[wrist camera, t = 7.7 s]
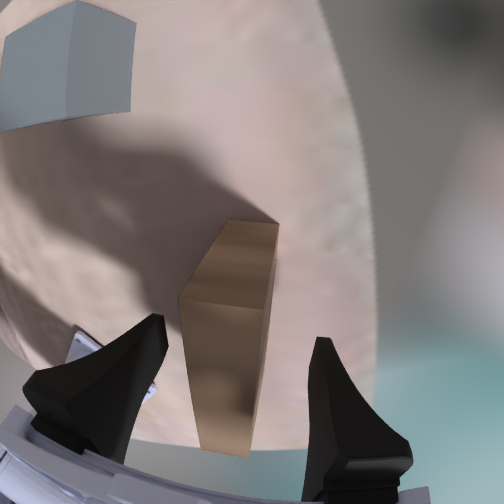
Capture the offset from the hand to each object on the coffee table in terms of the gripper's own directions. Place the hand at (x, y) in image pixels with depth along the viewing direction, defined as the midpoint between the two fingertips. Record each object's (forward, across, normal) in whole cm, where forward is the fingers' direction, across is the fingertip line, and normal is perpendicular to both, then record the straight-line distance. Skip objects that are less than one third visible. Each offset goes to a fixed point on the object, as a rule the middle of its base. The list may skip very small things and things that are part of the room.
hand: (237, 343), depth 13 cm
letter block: (+4, +9, -13) cm, 16 cm away
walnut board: (+4, 0, 0) cm, 4 cm away
